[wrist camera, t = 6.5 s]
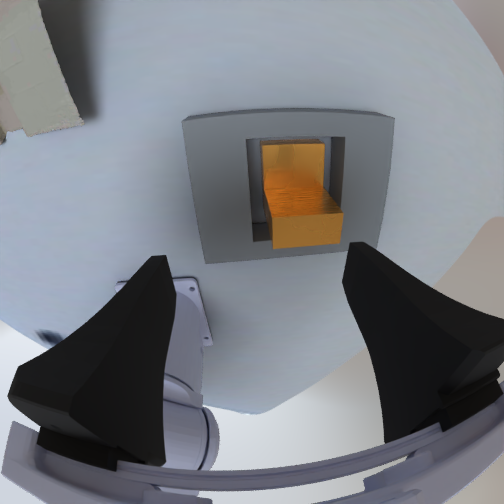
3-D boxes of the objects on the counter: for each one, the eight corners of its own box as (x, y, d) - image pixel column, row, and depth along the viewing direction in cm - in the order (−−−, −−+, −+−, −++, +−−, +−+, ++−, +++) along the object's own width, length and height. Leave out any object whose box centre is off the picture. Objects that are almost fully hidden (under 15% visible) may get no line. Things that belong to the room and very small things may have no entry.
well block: (364, 231, 22) (376, 248, 20) (207, 244, 21) (205, 263, 19) (376, 112, 16) (394, 118, 14) (188, 116, 16) (181, 121, 14)
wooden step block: (315, 203, 20) (339, 243, 16) (263, 207, 20) (273, 249, 15) (318, 139, 17) (348, 161, 13) (260, 140, 17) (270, 162, 13)
